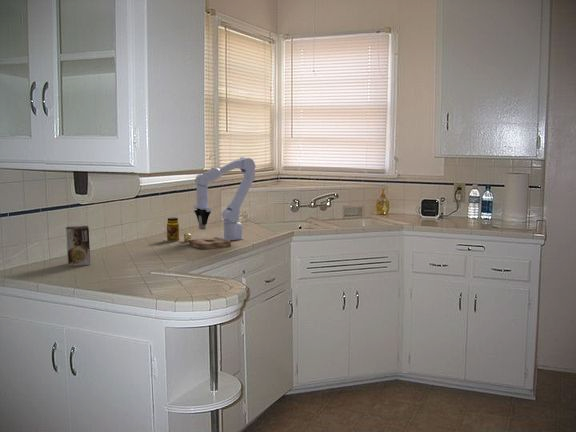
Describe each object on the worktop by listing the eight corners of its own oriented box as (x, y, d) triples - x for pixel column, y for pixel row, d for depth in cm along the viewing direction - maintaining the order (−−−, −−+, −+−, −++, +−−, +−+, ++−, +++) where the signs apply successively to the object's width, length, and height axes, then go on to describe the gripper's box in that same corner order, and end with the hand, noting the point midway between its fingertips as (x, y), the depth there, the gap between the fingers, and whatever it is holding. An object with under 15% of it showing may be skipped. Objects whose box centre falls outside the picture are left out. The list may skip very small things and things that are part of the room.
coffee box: (89, 262, 280) (88, 225, 278) (90, 265, 275) (89, 227, 272) (67, 263, 277) (65, 226, 275) (67, 266, 271) (66, 228, 269)
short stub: (189, 240, 335) (189, 233, 334) (192, 241, 332) (192, 234, 331) (182, 241, 333) (182, 233, 332) (186, 242, 330) (186, 234, 329)
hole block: (216, 241, 332) (216, 237, 332) (230, 246, 321) (230, 241, 321) (188, 245, 323) (188, 240, 323) (202, 249, 312) (202, 244, 311)
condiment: (169, 242, 330) (168, 219, 328) (163, 239, 337) (162, 217, 335) (182, 241, 333) (182, 218, 332) (176, 238, 341) (176, 216, 339)
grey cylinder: (203, 228, 336) (203, 214, 335) (207, 229, 333) (206, 215, 332) (197, 228, 334) (197, 215, 333) (200, 229, 331) (200, 216, 330)
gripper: (188, 197, 334) (189, 222, 336) (202, 199, 323) (202, 226, 325) (200, 196, 339) (201, 221, 340) (214, 198, 327) (214, 225, 329)
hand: (202, 224), depth 333 cm, fingers closed on grey cylinder, 4 cm apart
